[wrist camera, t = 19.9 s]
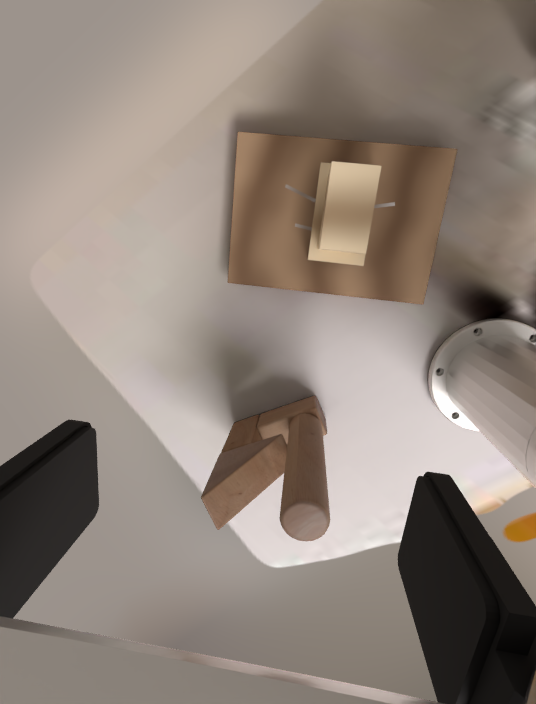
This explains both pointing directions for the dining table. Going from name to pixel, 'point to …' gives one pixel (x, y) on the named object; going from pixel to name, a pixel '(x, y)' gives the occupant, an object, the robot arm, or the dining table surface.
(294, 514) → the wooden block
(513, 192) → the dining table surface
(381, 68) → the dining table surface
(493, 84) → the dining table surface
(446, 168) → the walnut board
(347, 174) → the block
